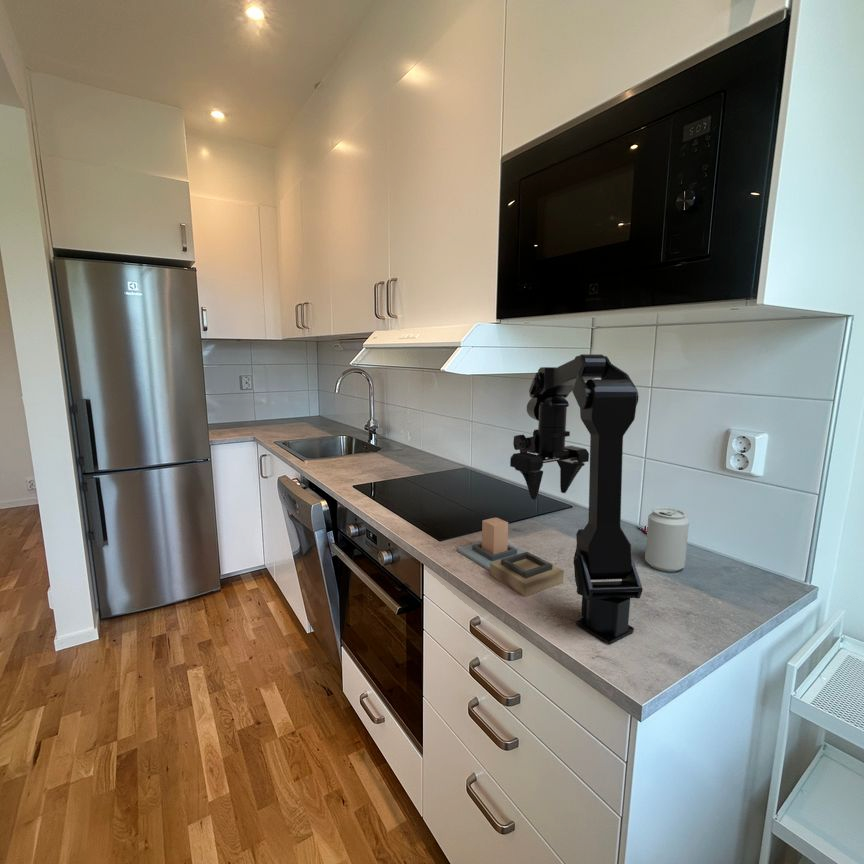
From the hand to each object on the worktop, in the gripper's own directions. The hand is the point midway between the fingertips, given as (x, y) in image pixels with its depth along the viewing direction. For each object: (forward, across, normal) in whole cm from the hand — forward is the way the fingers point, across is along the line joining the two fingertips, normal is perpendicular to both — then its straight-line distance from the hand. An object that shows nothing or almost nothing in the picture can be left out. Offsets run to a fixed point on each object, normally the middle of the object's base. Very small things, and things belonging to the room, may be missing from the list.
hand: (548, 495), depth 100 cm
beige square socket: (+13, +13, +7) cm, 20 cm away
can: (+13, -16, +18) cm, 28 cm away
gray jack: (+13, +11, -5) cm, 18 cm away
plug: (+12, +11, -5) cm, 17 cm away
